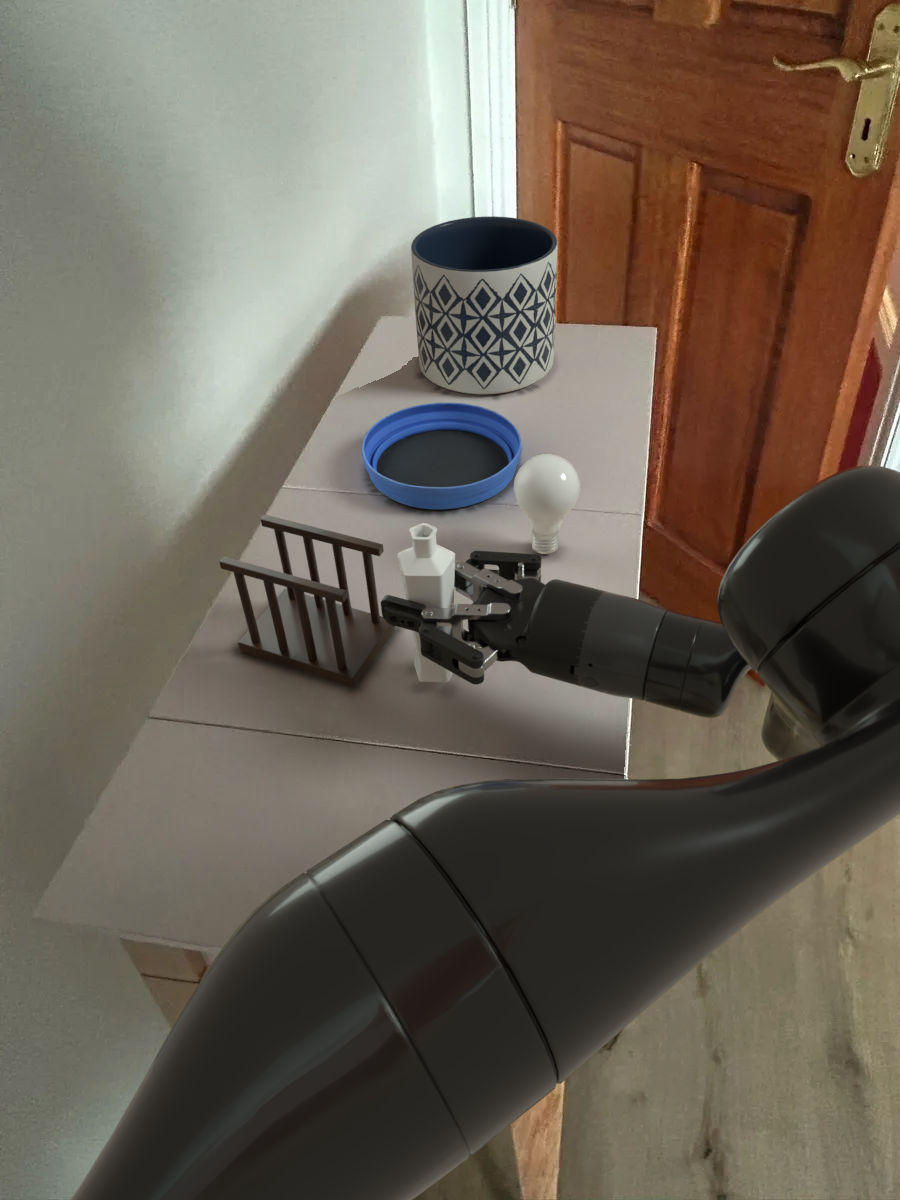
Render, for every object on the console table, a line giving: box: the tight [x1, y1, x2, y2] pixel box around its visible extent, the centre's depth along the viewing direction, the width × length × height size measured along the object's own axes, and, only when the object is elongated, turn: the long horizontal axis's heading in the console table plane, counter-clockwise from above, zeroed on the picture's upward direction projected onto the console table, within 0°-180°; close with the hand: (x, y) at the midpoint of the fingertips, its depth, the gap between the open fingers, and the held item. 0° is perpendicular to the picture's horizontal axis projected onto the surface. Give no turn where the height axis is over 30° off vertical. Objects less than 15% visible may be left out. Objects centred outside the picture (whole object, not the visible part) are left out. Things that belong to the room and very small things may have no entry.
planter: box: [410, 215, 559, 395], centre depth 118 cm, size 18×18×16 cm
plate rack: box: [219, 514, 396, 688], centre depth 81 cm, size 12×8×10 cm, turn 66°
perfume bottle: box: [397, 522, 456, 683], centre depth 75 cm, size 5×4×15 cm
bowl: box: [361, 402, 523, 510], centre depth 104 cm, size 18×18×4 cm
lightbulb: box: [513, 453, 581, 555], centre depth 89 cm, size 6×6×11 cm
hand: (398, 587), depth 75 cm, fingers closed on perfume bottle, 4 cm apart
